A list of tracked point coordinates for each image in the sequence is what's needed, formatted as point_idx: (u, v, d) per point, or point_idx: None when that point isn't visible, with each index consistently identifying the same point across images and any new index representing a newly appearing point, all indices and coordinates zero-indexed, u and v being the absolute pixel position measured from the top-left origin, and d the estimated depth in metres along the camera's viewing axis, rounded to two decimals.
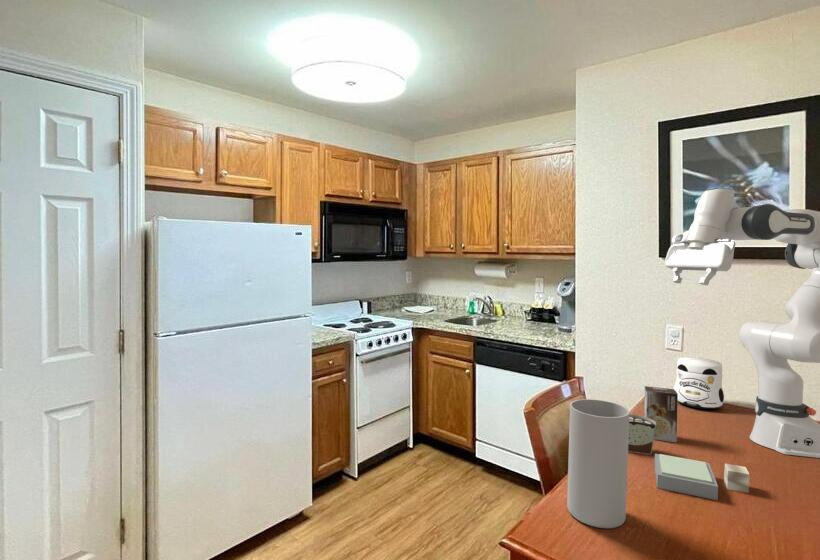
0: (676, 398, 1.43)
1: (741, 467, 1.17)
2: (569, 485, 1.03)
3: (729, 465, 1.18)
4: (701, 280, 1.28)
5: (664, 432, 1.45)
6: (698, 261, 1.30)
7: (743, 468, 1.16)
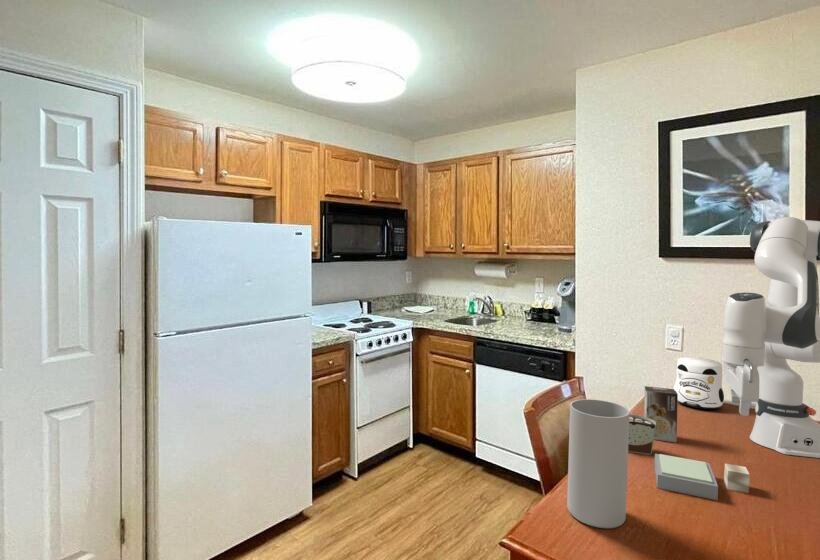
0: (676, 398, 1.43)
1: (741, 467, 1.17)
2: (569, 485, 1.03)
3: (729, 465, 1.18)
4: (739, 410, 1.11)
5: (664, 432, 1.45)
6: (734, 386, 1.13)
7: (743, 468, 1.16)
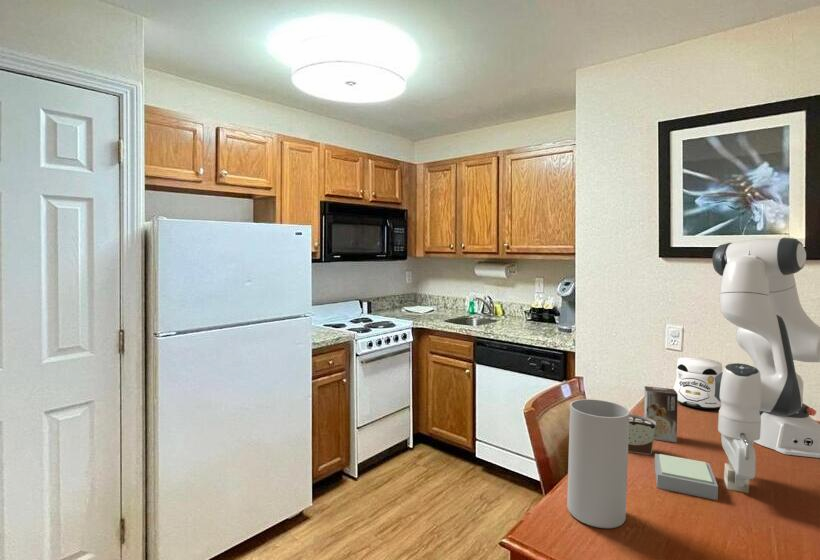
0: (676, 398, 1.43)
1: None
2: (569, 485, 1.03)
3: (729, 465, 1.18)
4: (734, 480, 1.14)
5: (664, 432, 1.45)
6: (730, 458, 1.14)
7: None
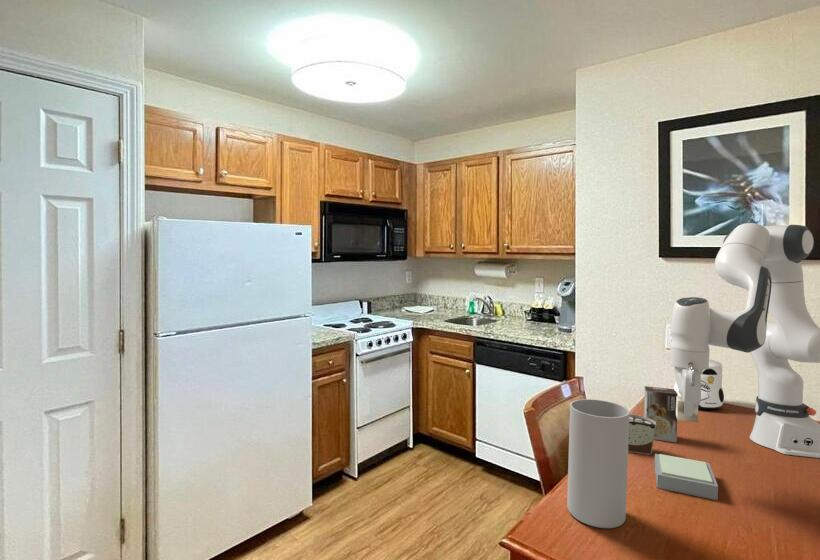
0: None
1: None
2: (569, 485, 1.03)
3: (680, 397, 1.19)
4: (684, 410, 1.16)
5: (664, 432, 1.45)
6: (680, 388, 1.16)
7: None
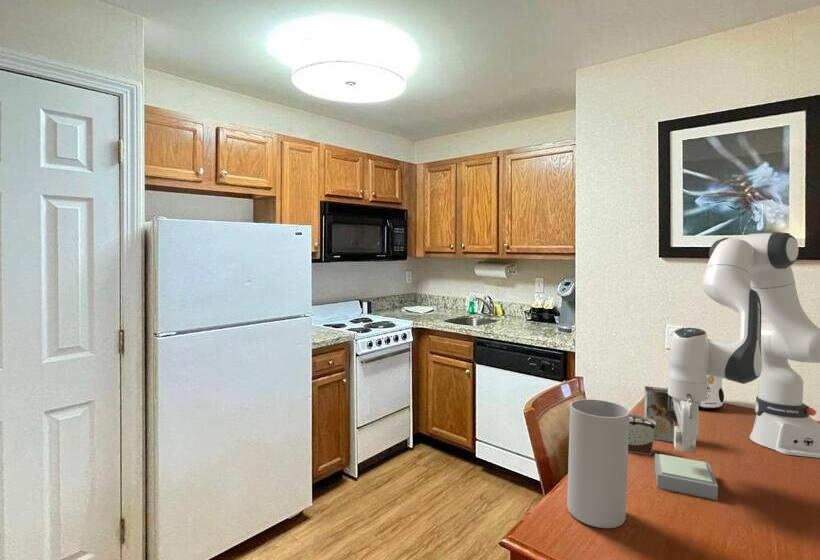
0: None
1: None
2: (569, 485, 1.03)
3: (678, 427, 1.20)
4: None
5: (664, 432, 1.45)
6: (678, 419, 1.17)
7: None
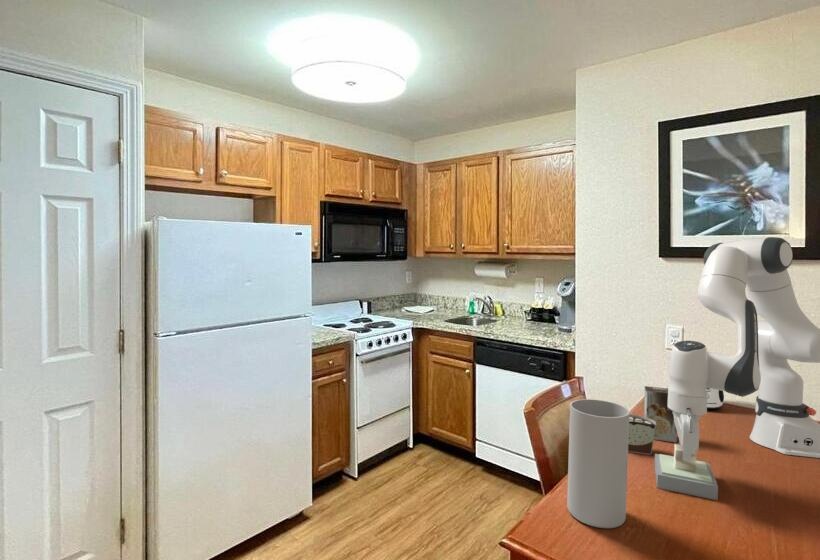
0: None
1: None
2: (569, 485, 1.03)
3: (678, 445, 1.20)
4: (682, 455, 1.15)
5: (664, 432, 1.45)
6: (678, 432, 1.17)
7: None
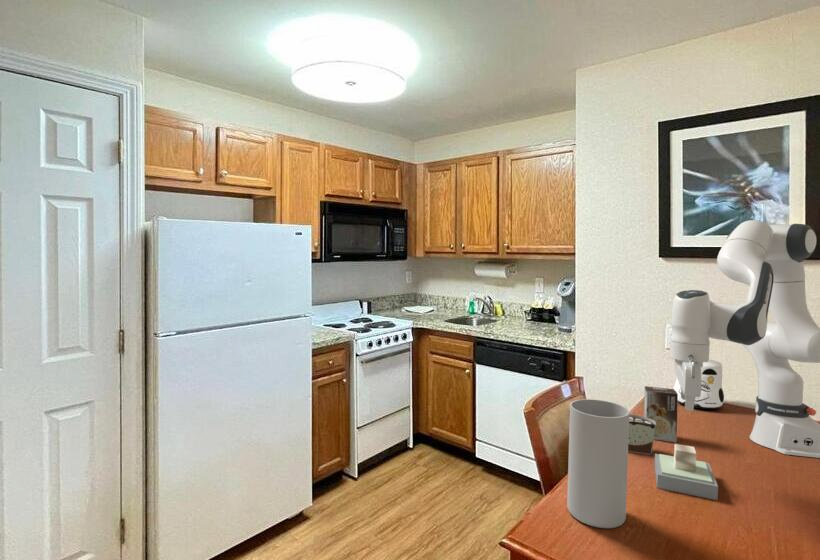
0: (676, 398, 1.43)
1: (689, 447, 1.19)
2: (569, 485, 1.03)
3: (678, 445, 1.20)
4: None
5: (664, 432, 1.45)
6: (680, 381, 1.16)
7: (691, 448, 1.19)
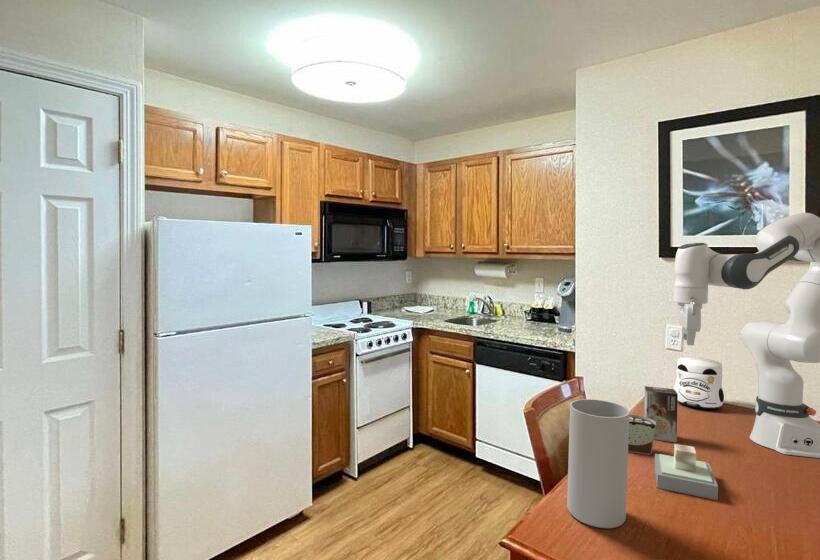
0: (676, 398, 1.43)
1: (689, 447, 1.19)
2: (569, 485, 1.03)
3: (678, 445, 1.20)
4: None
5: (664, 432, 1.45)
6: (683, 321, 1.33)
7: (691, 448, 1.19)
